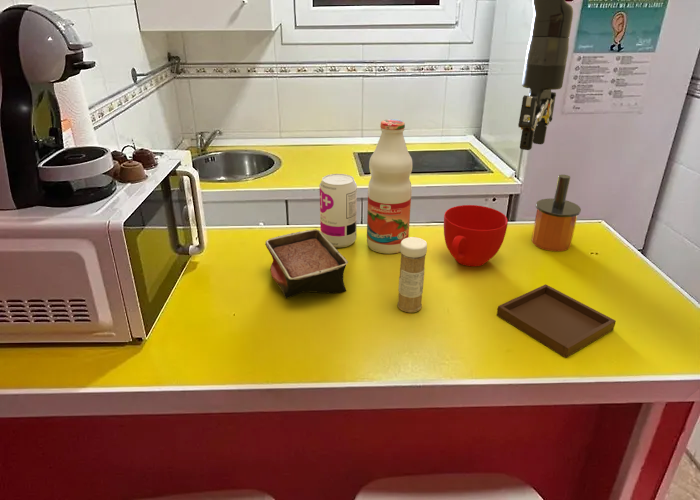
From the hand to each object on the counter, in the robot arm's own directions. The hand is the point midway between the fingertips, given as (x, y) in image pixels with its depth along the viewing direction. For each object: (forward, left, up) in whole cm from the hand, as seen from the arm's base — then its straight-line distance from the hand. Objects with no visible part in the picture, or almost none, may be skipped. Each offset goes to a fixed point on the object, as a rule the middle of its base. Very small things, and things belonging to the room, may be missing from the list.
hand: (532, 146), depth 106 cm
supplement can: (+25, +31, -24) cm, 46 cm away
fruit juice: (+17, +23, -24) cm, 37 cm away
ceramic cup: (+1, +14, -24) cm, 28 cm away
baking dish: (+13, +46, -24) cm, 53 cm away
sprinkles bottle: (-5, +35, -24) cm, 43 cm away
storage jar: (-3, -9, -23) cm, 25 cm away
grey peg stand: (-3, -9, -15) cm, 17 cm away
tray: (-23, +17, -23) cm, 37 cm away
